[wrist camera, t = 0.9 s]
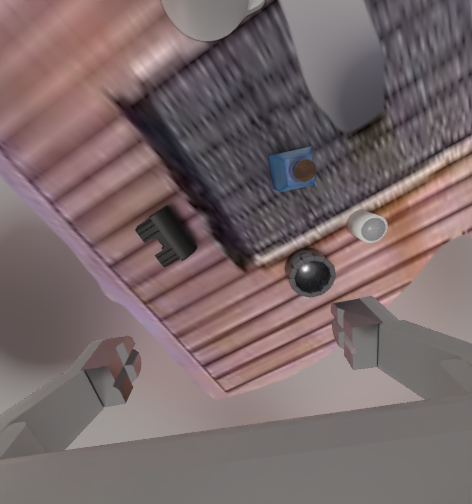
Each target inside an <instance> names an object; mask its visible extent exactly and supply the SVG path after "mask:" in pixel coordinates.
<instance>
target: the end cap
mask: <svg viewBox="0 0 472 504" xmlns="http://www.w3.org/2000/svg"><path fill="white" fill-rule="evenodd" d="M135 230H136V232H137V234H138V235H139V236H140V238H141V239H142V240H143V241H144V243H146V242H148V241H150V240H151V239H154V238H157V239H158V241H159V242H160V243H161V245H162V246H163V247H162V251H161V252H159V253H158V254H156V255H155V257H156V258H157V259H158V260H159V262H160V263H161V264H162V266H163V267H166V266H169V265H170V264H172V263H174V262H175V261H177V260H179V259H181V260H182V261H183V260H185V259H186V258H188V257H189V256H190V255H191V254H193V253H194V252H195V251H196V249H197V245H196V244H195V242H194V241H193V239H192V238H191V236H190V235H189V234H188V232H187V231H186V229H185V228H184V227H183V225H182V224H181V222H180V221H179V219H178V218H177V217H176V215H175V214H174V212H173V211H172V210H171V208H170V207H169V206H168V205H167V206H165V207H164V208H162V209H160V210H159V211H157V212H156V213H154V214H153V215H151V216H150V218H149V219H148V220H146V221H145V222H143V223H141V224H140V225H138V226H137V228H136V229H135Z"/></svg>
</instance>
